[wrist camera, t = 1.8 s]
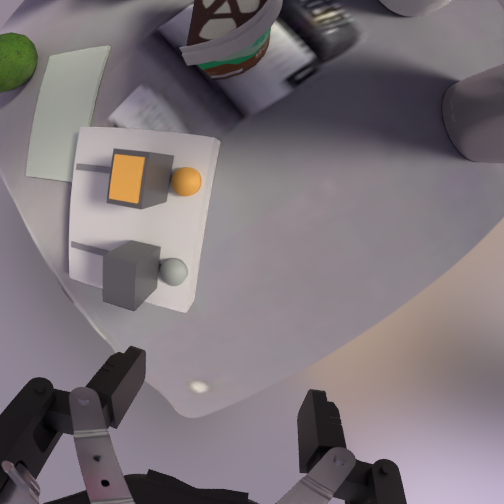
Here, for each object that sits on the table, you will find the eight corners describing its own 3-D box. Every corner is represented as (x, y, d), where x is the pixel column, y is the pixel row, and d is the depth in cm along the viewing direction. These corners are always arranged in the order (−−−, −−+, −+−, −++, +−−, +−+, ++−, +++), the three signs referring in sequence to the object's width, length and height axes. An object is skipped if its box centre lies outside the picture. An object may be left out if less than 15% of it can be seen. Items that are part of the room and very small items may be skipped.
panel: (220, 141, 25) (211, 136, 21) (194, 300, 29) (183, 316, 26) (96, 129, 25) (75, 125, 22) (84, 269, 30) (65, 280, 26)
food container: (277, 96, 24) (278, 55, 14) (211, 93, 24) (178, 55, 14) (284, -3, 20) (286, -63, 11) (225, -5, 21) (205, -61, 11)
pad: (111, 46, 23) (109, 45, 22) (81, 182, 27) (79, 183, 27) (52, 57, 23) (50, 56, 23) (28, 175, 27) (25, 176, 27)
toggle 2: (160, 246, 25) (136, 263, 20) (157, 287, 26) (134, 311, 21) (131, 240, 25) (102, 255, 20) (129, 280, 26) (102, 301, 21)
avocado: (50, 76, 24) (-18, 57, 12) (14, 105, 25) (-50, 99, 13) (49, 33, 22) (-8, 9, 10) (14, 63, 23) (-42, 50, 11)
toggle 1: (174, 155, 23) (148, 151, 18) (166, 202, 24) (140, 210, 19) (142, 151, 23) (112, 148, 18) (136, 196, 24) (104, 203, 19)
